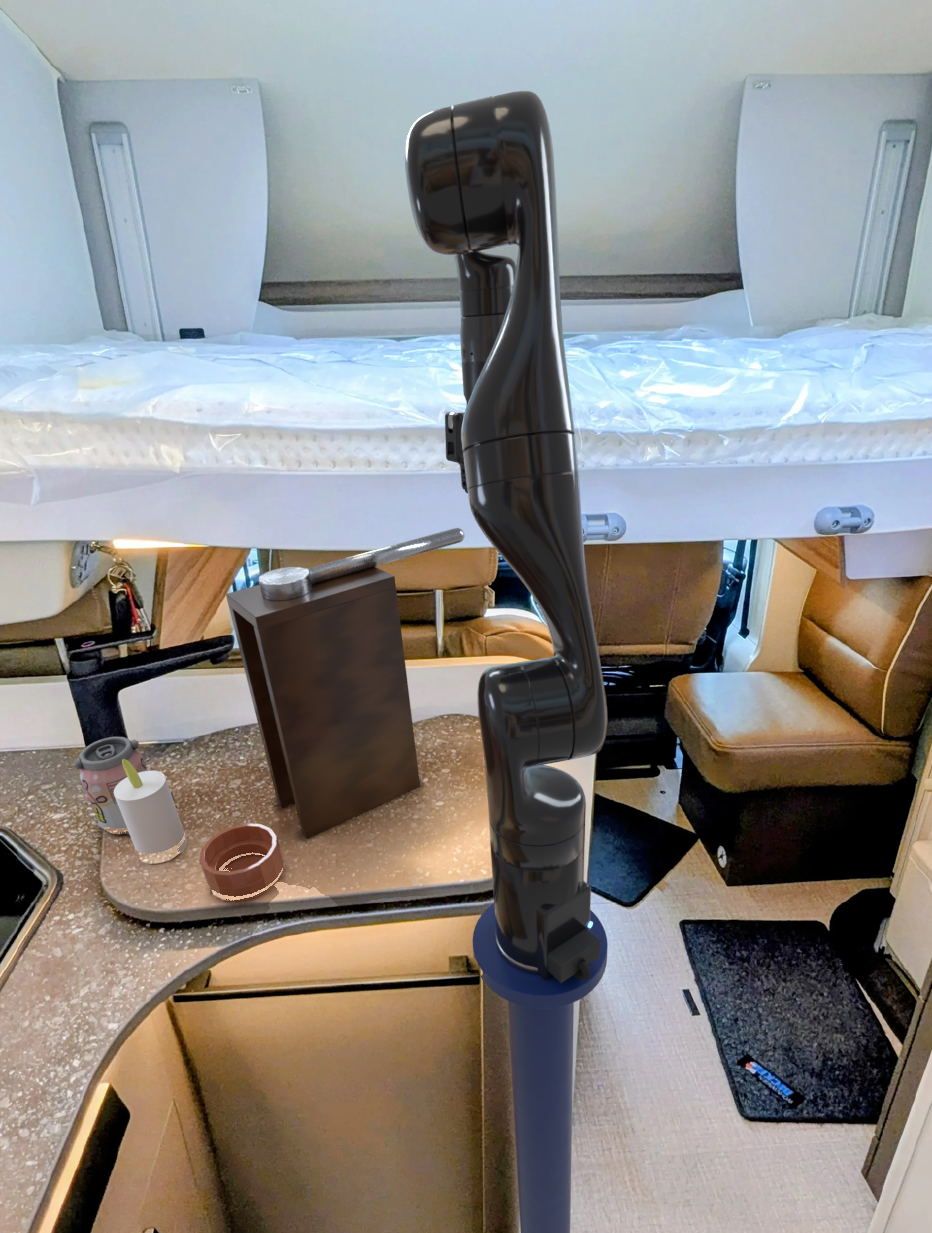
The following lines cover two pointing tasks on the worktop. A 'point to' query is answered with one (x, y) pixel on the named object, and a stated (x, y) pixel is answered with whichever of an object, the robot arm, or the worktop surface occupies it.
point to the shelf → (330, 695)
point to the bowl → (242, 860)
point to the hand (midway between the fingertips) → (497, 487)
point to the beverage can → (107, 775)
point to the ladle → (348, 565)
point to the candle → (149, 810)
